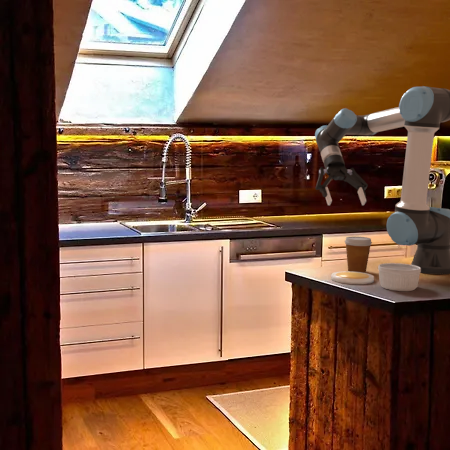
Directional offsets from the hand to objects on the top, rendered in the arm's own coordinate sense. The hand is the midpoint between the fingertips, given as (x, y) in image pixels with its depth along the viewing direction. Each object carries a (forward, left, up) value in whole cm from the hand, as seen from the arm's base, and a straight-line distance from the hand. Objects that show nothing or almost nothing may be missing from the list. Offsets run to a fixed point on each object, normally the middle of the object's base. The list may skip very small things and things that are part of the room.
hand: (347, 203), depth 256 cm
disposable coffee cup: (+4, +10, -24) cm, 26 cm away
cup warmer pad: (+16, +20, -23) cm, 34 cm away
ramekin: (+11, +36, -24) cm, 44 cm away
